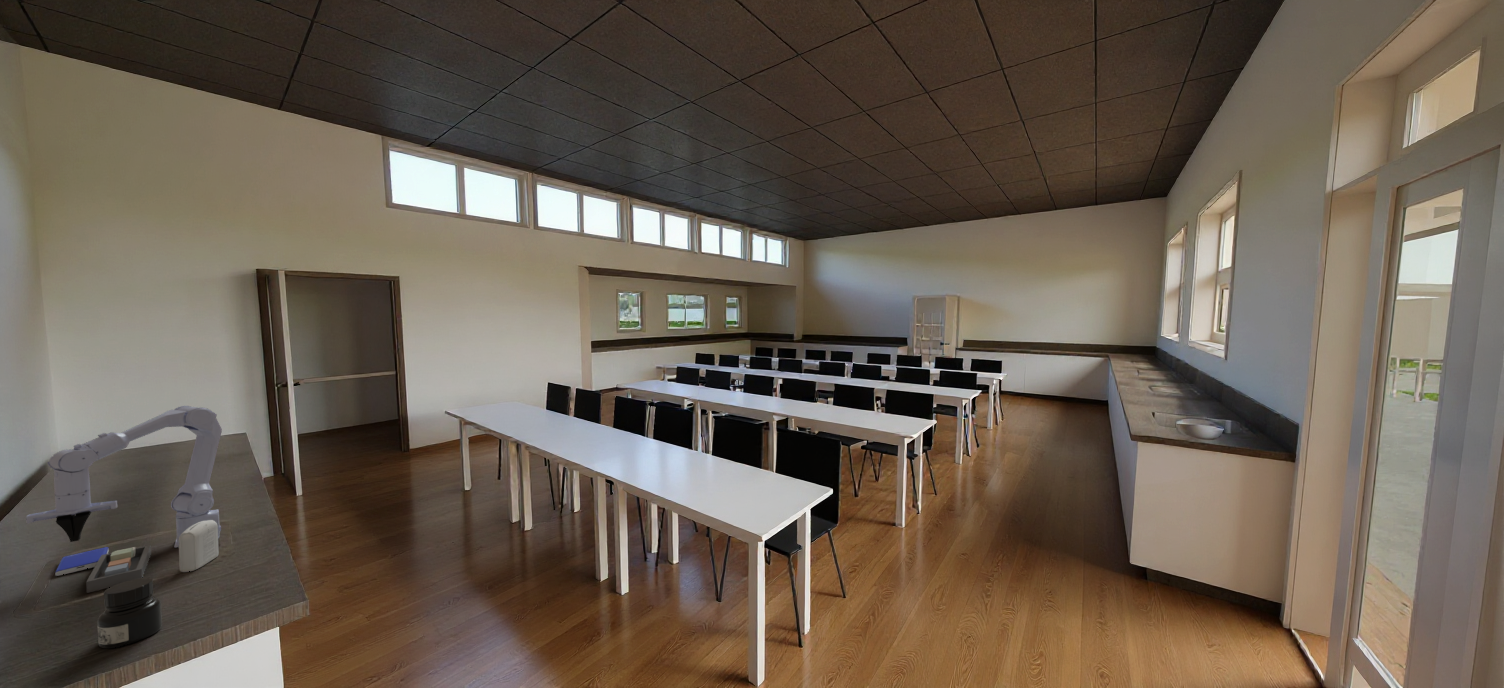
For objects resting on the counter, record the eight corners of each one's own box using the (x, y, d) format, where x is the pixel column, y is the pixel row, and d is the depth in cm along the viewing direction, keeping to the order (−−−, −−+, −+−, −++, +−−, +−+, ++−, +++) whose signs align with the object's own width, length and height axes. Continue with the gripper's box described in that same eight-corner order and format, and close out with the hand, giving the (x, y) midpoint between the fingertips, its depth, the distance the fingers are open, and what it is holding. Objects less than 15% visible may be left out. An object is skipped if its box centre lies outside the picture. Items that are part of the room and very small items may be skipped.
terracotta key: (131, 566, 137) (130, 557, 137) (129, 570, 135) (128, 561, 135) (110, 571, 134) (109, 561, 134) (108, 575, 132) (107, 566, 132)
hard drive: (62, 556, 141) (55, 571, 133) (108, 546, 147) (104, 559, 139) (62, 561, 141) (55, 576, 133) (108, 551, 147) (104, 564, 139)
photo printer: (203, 557, 145) (201, 517, 145) (221, 555, 147) (220, 515, 146) (176, 574, 136) (174, 531, 135) (196, 571, 137) (194, 529, 136)
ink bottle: (90, 643, 106) (87, 591, 106) (150, 620, 115) (148, 571, 114) (109, 654, 103) (107, 600, 102) (170, 630, 111) (168, 580, 111)
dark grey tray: (151, 554, 147) (150, 544, 146) (142, 579, 132) (141, 569, 132) (102, 565, 140) (101, 555, 140) (86, 592, 126) (86, 581, 126)
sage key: (133, 556, 140) (132, 547, 140) (131, 560, 138) (131, 551, 138) (113, 560, 138) (112, 551, 137) (110, 565, 135) (110, 556, 135)
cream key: (135, 555, 143) (135, 546, 143) (134, 559, 141) (133, 550, 141) (116, 559, 141) (115, 550, 141) (113, 564, 138) (113, 555, 138)
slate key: (128, 572, 134) (128, 562, 134) (126, 576, 132) (126, 567, 131) (107, 577, 131) (106, 567, 131) (105, 581, 129) (104, 572, 129)
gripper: (21, 503, 125) (24, 554, 125) (113, 489, 135) (115, 536, 136) (29, 496, 129) (32, 545, 130) (117, 483, 140) (120, 528, 141)
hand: (75, 540), depth 133 cm, fingers closed
